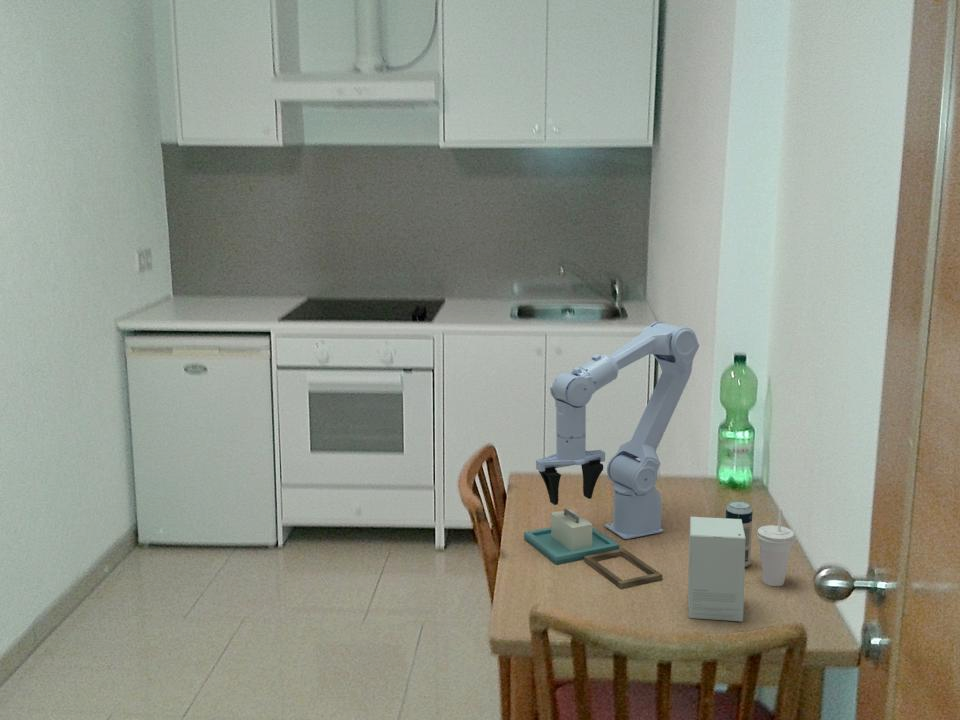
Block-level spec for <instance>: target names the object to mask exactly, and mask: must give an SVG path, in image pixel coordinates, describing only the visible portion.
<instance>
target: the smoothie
mask: <svg viewBox="0 0 960 720" xmlns="http://www.w3.org/2000/svg"><path fill="white" fill-rule="evenodd" d="M777 511H778V514H777V515H778V516H777V525H772V524H771V525H763V526H760V527H759V528H758V529H757V532H756V533H757V534H756V536H757V538H758V540H759V543H758V544H759V552H760V562H761V563H760V564H761V566H760V567H761V577H762V583H764V584H765V585H767V586H770V587H781V586H784V584H785V580H786V574H787V569H788V563H789V558H790V554H791V549H792V543H793V542H794V540H795V533H794V530H792V529H791V528H788V527H786V526H782V516H783V515H782V514H783V511H782V508H780V507H779V508H778V510H777Z"/></svg>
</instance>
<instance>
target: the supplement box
mask: <svg viewBox="0 0 960 720" xmlns="http://www.w3.org/2000/svg"><path fill="white" fill-rule="evenodd" d="M688 533H689V535H688V537H689V538H688V579H687V580H688V584H687V585H688V589H687V599H688V604H687V605H688V618H689V619H699V620H700V619H701V620H712V621H714V620H715V621H716V620H717V621H729V622H740V623H741V622H744V605H745V604H744V603H745V601H744V600H745V569H746V567H745V542H746V538H745V533H744V529H743V524H742V519H727V518H726V517H725V518H723V517H707V516H706V517H704V516H703V517H702V516H690V517H689V532H688Z"/></svg>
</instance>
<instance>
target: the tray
mask: <svg viewBox="0 0 960 720" xmlns="http://www.w3.org/2000/svg"><path fill="white" fill-rule="evenodd" d="M523 540H525V541H526V542H527V543H528V544H529V545H531V546H532V547H533V548H535V549H536V550H537V551H539V552H540V553H541V554H542V555H543V556H545V558H547V559H548V560H549V561H551V562H552V563H553V564H555V565H556V566H557V565H562V564H567V563H572V562H576V561H581V560H584V556H588V555H593V554H598V553H603V552H608V551H613V550H618V549H620V544H619V543H617V542H616V541H614V540H613V539H611V538H610V537H608V536H607V535H606V534H604V533H603V532H601V531H600V530H598V529H596V528H595V527H593V526H592V548H587V549H582V550H577V551H570V550H569V549H568V548H566V547H565V546H564V545H562V544H561V543H560V542H558V541H557V540H556V539H554V538H553V537H552V536H551V526H549V527H544V528H538V529H534V530H529V531H524V532H523Z"/></svg>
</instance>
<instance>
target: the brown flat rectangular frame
mask: <svg viewBox="0 0 960 720" xmlns="http://www.w3.org/2000/svg"><path fill="white" fill-rule="evenodd" d="M617 557H623V558H624V559H625V560H627V561H628V562H629V563H632V564H633V566H634V565H635V567H637V568H638V569H640V570H641V571H643V572H644V573H646V574H647V575H642V576H637V577H633V578H628V579H622V578H620V577H619V576H617V575H616V574H615V573H614V572H612V571H611V570H609V569H608V568H607V567H606V566H604V565H602V563H600V562H598V561H602V560H608V559H612V558H617ZM583 562H585V563H586V564H587V565H589V566H590V567H591V568H592V569H593V570H595V571H596V572H598V573H599V574H601V575H602V576H603V577H605V579H608V581H610V582H611V583H612V584H614V585H615V586H617V587H618V588H619V589H627V588H632V587H635V586H641V585H644V584H645V585H646V584H649V583H654V582H658V581H662V580H663V574H662V573H661V572H660V571H658V570H656V569H655V568H653V567H651V566H650V565H649V564H647V563H646V562H645V561H643V560H641V559H640V558H638V557H637V556H635V555H634V554H633V553H632V552H629V550H627V549H625V548H619V549H618V550H613V551H608V552H603V553H598V554H593V555H588V556H584V559H583Z"/></svg>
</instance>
